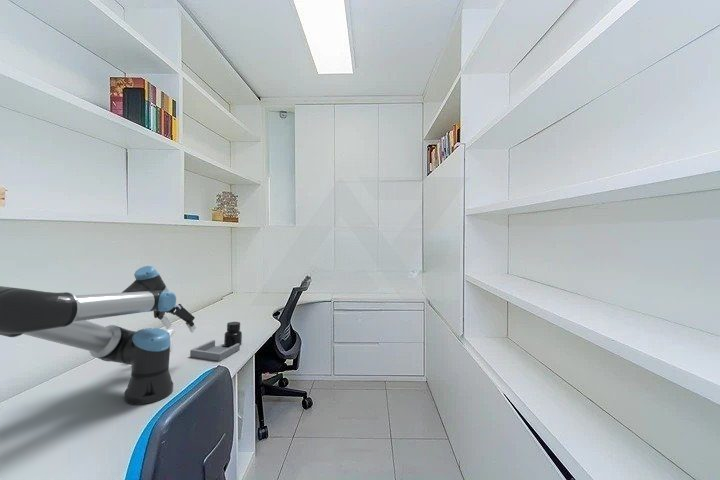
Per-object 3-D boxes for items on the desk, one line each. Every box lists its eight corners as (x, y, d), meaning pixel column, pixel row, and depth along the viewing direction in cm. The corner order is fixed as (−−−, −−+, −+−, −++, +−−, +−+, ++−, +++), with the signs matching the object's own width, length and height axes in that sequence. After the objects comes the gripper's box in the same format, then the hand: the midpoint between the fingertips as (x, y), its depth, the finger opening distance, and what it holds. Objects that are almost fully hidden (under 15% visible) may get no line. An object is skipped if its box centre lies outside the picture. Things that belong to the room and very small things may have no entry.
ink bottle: (244, 343, 175) (245, 321, 175) (237, 348, 166) (238, 326, 166) (228, 341, 176) (229, 320, 176) (220, 346, 167) (221, 324, 167)
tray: (219, 361, 148) (219, 354, 148) (190, 357, 151) (190, 350, 151) (239, 350, 163) (239, 343, 163) (212, 346, 167) (212, 340, 167)
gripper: (190, 293, 135) (208, 325, 147) (144, 288, 140) (165, 319, 152) (179, 305, 129) (199, 338, 141) (130, 300, 134) (153, 331, 146)
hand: (181, 328), depth 147 cm, fingers open, 13 cm apart
